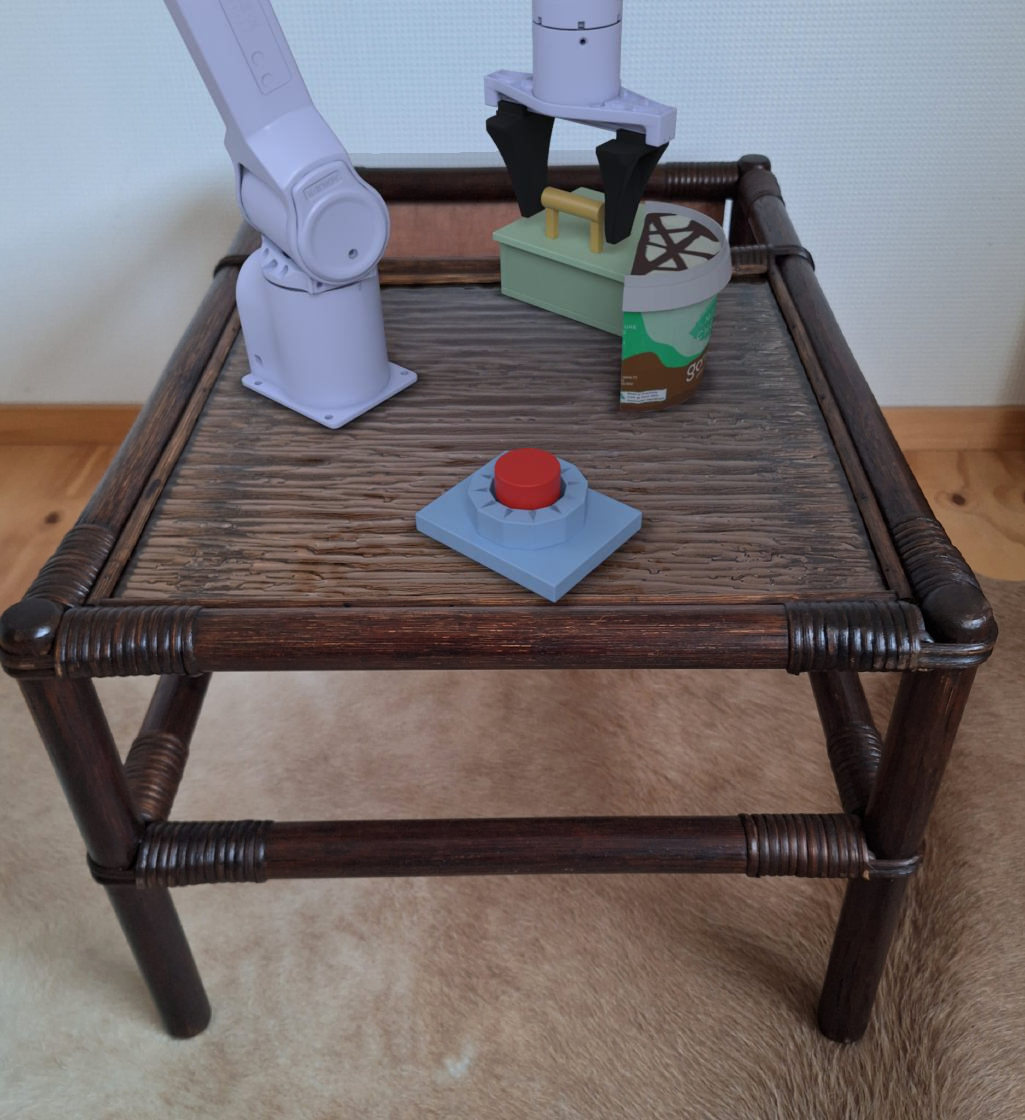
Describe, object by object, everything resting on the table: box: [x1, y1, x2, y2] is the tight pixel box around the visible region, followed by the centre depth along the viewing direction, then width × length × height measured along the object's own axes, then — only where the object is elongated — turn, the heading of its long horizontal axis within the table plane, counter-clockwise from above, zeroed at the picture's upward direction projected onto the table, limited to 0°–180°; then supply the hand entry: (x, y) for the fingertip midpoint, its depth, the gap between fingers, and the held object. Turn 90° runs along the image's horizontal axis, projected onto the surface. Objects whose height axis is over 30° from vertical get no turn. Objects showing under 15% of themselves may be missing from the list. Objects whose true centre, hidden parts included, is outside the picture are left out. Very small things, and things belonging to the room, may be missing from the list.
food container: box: [619, 200, 733, 414], centre depth 70 cm, size 12×6×10 cm, turn 168°
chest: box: [499, 242, 624, 338], centre depth 82 cm, size 10×12×5 cm
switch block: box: [414, 450, 643, 604], centre depth 60 cm, size 10×8×3 cm
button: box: [494, 447, 561, 511], centre depth 59 cm, size 4×4×2 cm
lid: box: [491, 186, 645, 283], centre depth 79 cm, size 11×12×4 cm
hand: (574, 225), depth 77 cm, fingers open, 7 cm apart
